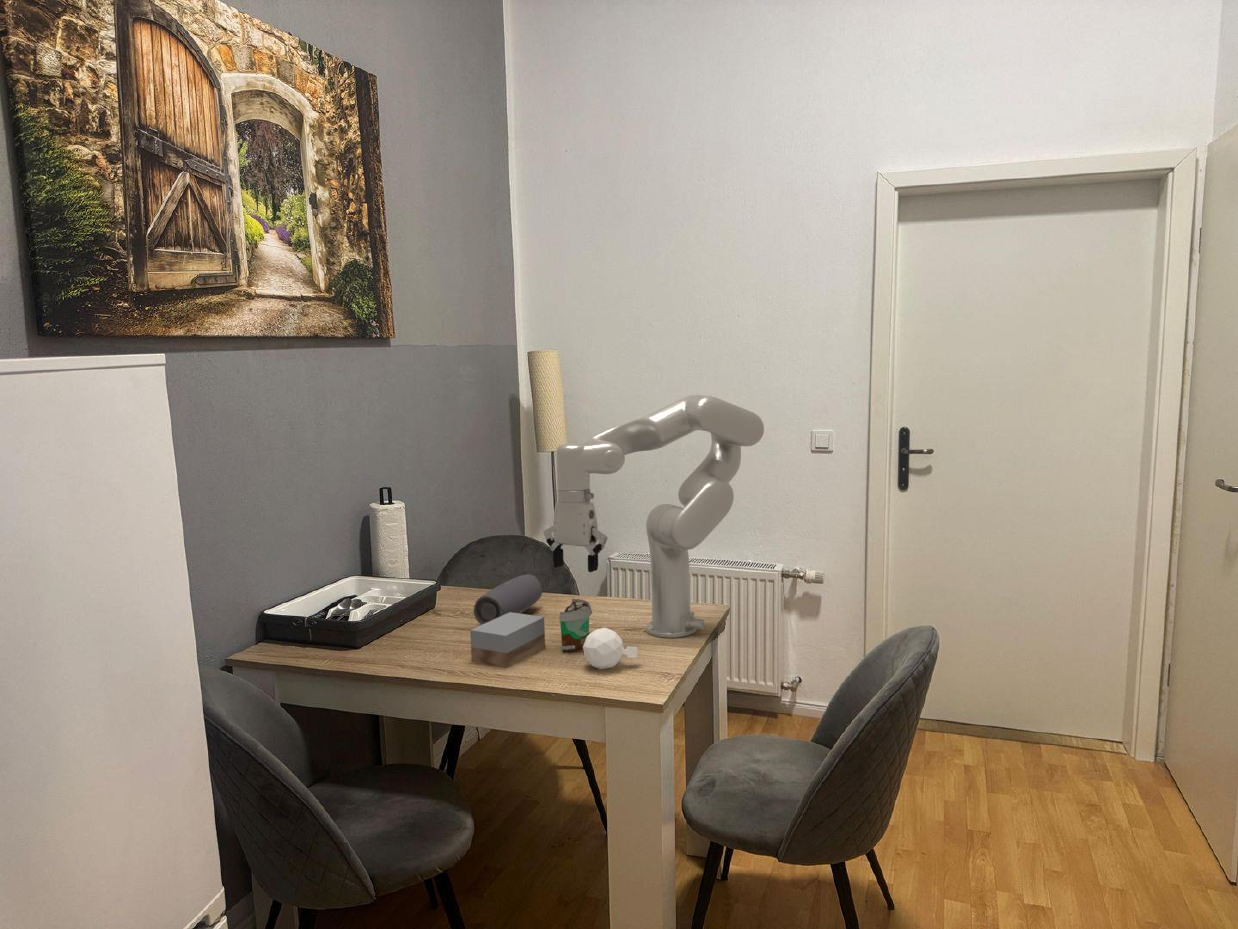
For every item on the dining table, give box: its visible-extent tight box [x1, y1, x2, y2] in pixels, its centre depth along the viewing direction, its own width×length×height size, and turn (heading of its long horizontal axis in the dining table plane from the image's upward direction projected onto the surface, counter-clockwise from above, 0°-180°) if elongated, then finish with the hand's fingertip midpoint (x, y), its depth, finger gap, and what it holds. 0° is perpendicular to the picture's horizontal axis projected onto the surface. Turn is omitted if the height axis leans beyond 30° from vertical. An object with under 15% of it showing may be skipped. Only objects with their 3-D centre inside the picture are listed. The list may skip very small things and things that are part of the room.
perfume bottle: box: [582, 627, 639, 670], centre depth 189 cm, size 9×9×12 cm
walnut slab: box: [470, 634, 546, 669], centre depth 200 cm, size 10×15×4 cm, turn 150°
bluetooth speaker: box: [473, 574, 543, 625], centre depth 227 cm, size 23×9×10 cm, turn 159°
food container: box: [558, 598, 593, 654], centre depth 203 cm, size 12×6×10 cm, turn 168°
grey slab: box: [469, 612, 546, 653], centre depth 199 cm, size 10×15×4 cm, turn 151°
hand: (575, 568), depth 201 cm, fingers open, 9 cm apart
